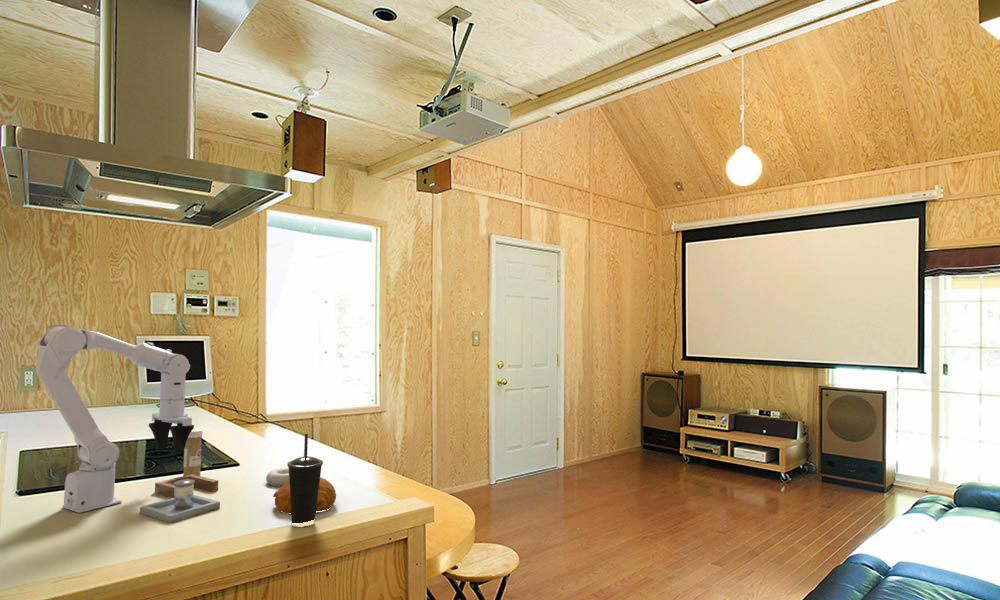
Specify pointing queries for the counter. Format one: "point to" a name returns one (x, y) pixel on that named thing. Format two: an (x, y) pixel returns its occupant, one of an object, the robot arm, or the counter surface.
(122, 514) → the counter surface
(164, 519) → the dish
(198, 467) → the sprinkles bottle
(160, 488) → the notch block
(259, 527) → the counter surface
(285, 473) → the donut
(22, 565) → the counter surface
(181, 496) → the salt shaker
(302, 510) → the drinking cup
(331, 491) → the croissant
